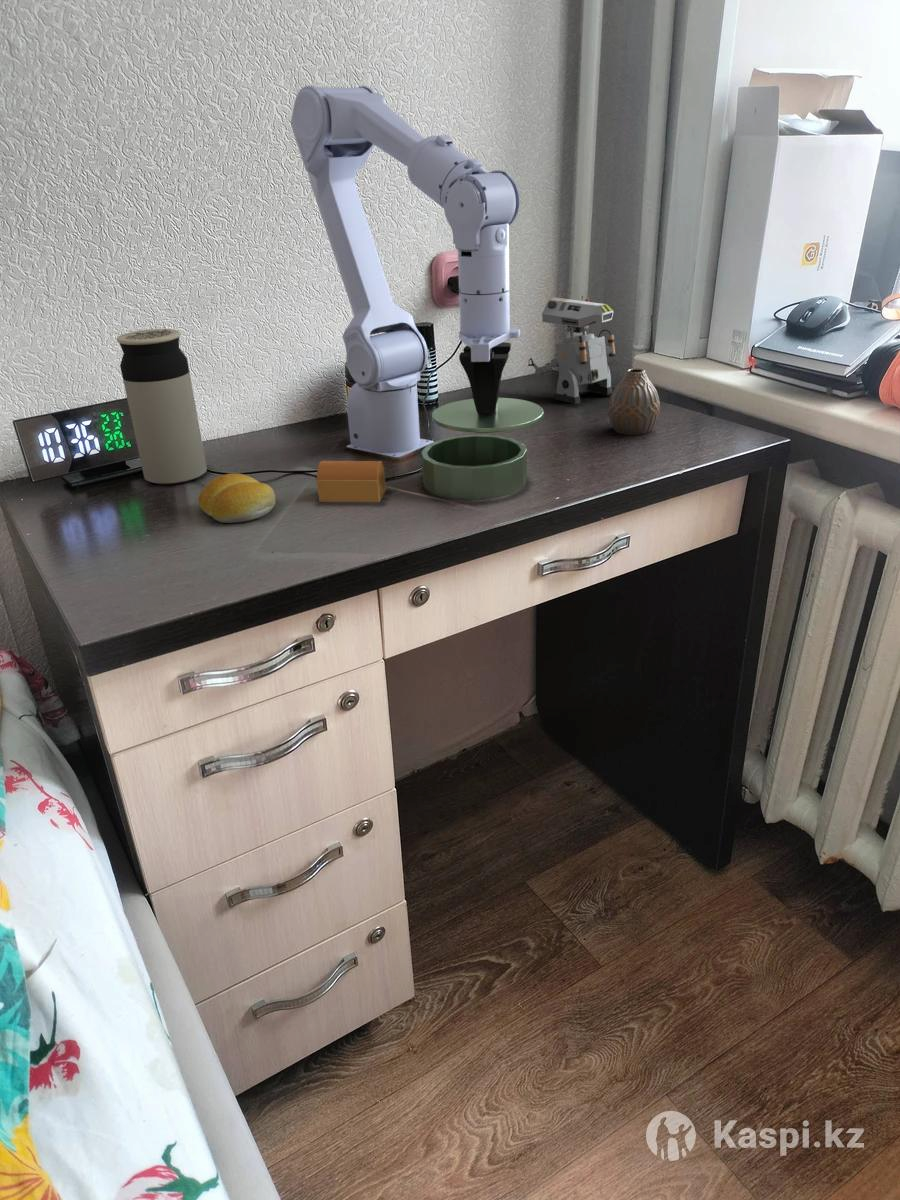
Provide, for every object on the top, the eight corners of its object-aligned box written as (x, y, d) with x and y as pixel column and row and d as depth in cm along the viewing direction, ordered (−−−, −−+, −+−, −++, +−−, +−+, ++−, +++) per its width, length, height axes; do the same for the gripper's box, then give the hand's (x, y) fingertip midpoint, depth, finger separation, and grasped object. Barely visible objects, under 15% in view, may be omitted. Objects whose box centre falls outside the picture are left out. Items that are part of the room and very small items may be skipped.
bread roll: (227, 531, 96) (221, 497, 95) (191, 510, 103) (185, 478, 101) (291, 510, 101) (287, 477, 99) (253, 491, 107) (248, 460, 105)
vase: (665, 429, 122) (669, 367, 118) (647, 443, 117) (651, 378, 113) (619, 424, 126) (622, 362, 122) (599, 437, 121) (601, 373, 117)
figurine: (565, 385, 146) (567, 292, 139) (619, 397, 139) (624, 298, 132) (527, 396, 141) (527, 300, 134) (581, 409, 133) (584, 307, 126)
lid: (410, 427, 104) (407, 385, 102) (474, 401, 114) (473, 361, 111) (503, 444, 97) (502, 398, 95) (563, 414, 106) (564, 372, 104)
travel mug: (219, 473, 114) (194, 332, 106) (165, 490, 109) (135, 343, 101) (186, 461, 119) (160, 325, 111) (133, 477, 114) (101, 336, 106)
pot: (403, 491, 105) (400, 456, 103) (464, 462, 114) (462, 429, 112) (487, 511, 98) (486, 474, 96) (545, 478, 107) (545, 444, 105)
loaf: (319, 504, 102) (315, 468, 100) (328, 491, 106) (324, 456, 104) (379, 504, 102) (376, 468, 99) (386, 491, 105) (383, 456, 103)
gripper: (516, 300, 92) (517, 426, 98) (522, 280, 104) (522, 393, 111) (450, 302, 92) (455, 427, 99) (463, 282, 105) (467, 394, 111)
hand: (487, 409), depth 105 cm, fingers closed on lid, 2 cm apart
